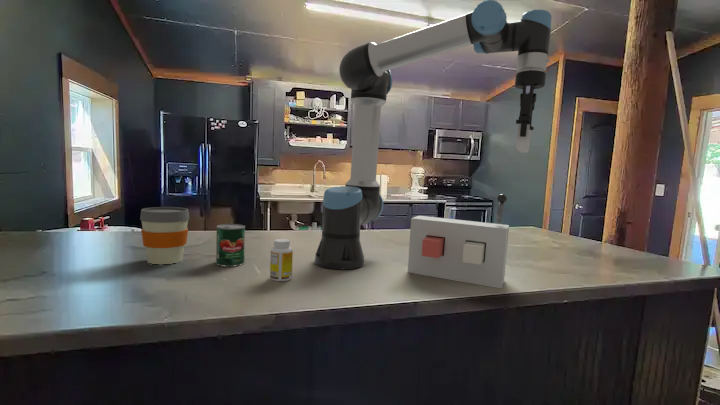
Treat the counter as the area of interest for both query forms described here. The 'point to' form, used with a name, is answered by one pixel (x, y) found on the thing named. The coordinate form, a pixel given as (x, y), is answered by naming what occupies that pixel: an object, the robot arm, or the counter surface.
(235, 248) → the canned tomato
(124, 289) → the counter surface
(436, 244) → the red button
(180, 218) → the reusable coffee cup
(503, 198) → the toggle lever
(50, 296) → the counter surface
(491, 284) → the console
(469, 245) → the ivory button
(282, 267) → the supplement bottle
